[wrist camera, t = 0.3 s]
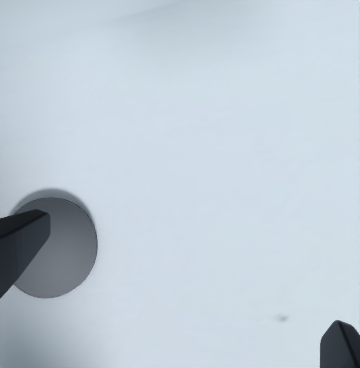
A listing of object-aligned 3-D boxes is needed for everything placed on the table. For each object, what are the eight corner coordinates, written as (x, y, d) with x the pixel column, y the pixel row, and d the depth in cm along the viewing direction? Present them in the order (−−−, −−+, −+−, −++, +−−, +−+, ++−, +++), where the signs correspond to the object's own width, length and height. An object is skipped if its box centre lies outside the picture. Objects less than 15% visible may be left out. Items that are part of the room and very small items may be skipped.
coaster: (99, 293, 24) (97, 295, 23) (6, 298, 24) (0, 300, 24) (95, 194, 25) (92, 193, 24) (5, 202, 25) (0, 202, 25)
